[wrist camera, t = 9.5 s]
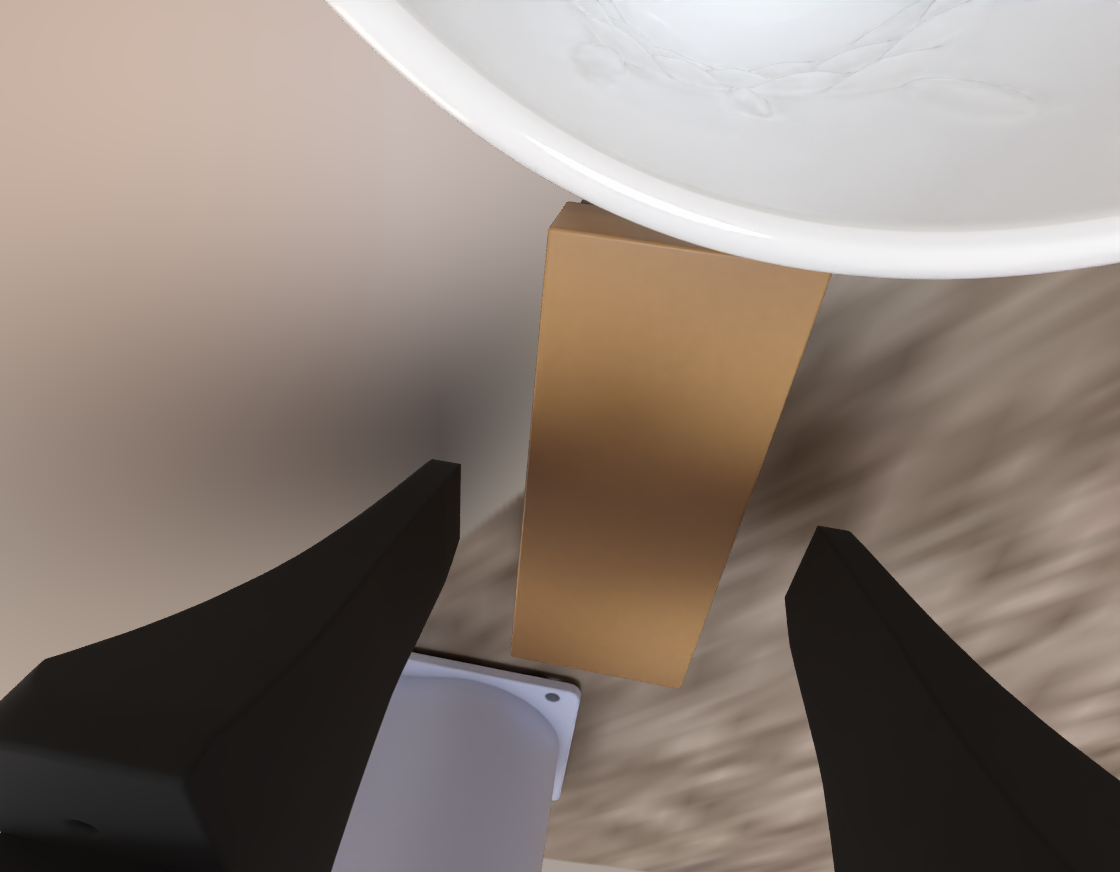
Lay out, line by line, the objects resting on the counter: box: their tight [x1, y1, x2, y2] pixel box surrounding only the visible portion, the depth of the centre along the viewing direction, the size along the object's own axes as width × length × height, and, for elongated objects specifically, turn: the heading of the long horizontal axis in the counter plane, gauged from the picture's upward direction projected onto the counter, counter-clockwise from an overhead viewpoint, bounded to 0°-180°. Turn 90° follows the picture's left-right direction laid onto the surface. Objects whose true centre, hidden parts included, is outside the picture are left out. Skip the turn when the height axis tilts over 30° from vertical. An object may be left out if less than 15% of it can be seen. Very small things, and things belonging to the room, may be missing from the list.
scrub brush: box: [510, 199, 832, 689], centre depth 14 cm, size 11×4×4 cm, turn 174°
